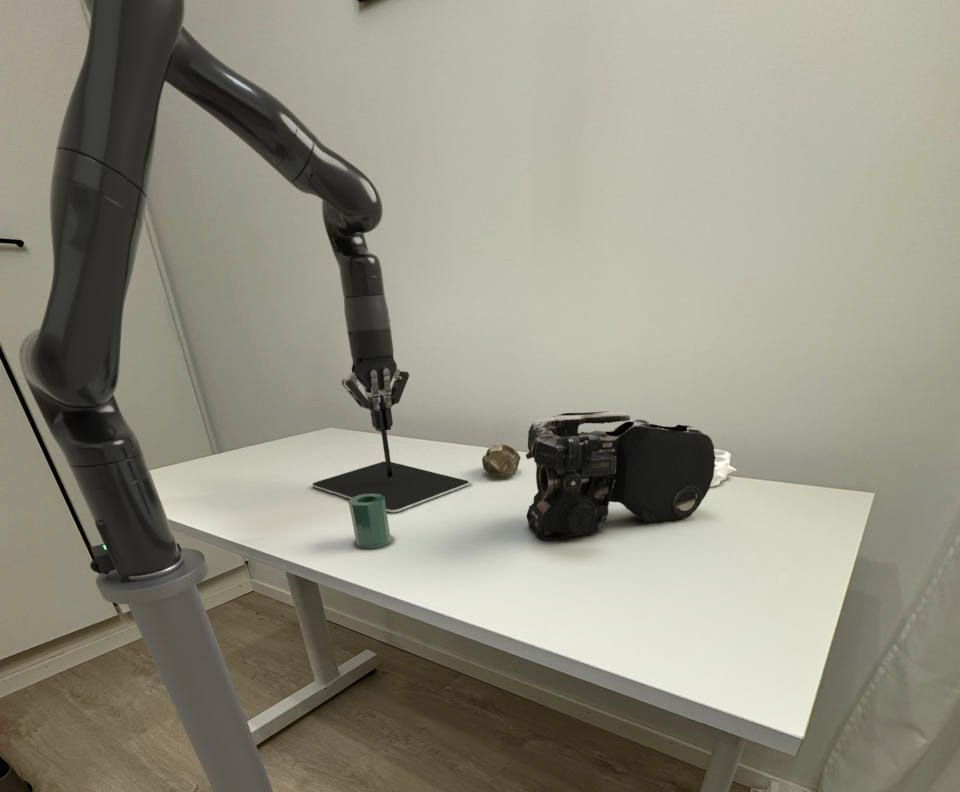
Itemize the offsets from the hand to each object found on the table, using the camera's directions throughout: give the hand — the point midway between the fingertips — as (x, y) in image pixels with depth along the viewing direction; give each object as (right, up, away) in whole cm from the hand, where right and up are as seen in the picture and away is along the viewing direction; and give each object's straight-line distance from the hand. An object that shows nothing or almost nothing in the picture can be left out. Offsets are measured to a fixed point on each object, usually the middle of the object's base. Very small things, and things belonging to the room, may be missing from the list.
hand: (383, 429), depth 106 cm
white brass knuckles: (+59, -9, +1) cm, 60 cm away
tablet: (0, -9, +7) cm, 11 cm away
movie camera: (+39, -22, -17) cm, 48 cm away
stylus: (+1, -8, +5) cm, 10 cm away
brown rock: (+23, -6, +10) cm, 26 cm away
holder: (+2, -25, -18) cm, 30 cm away
